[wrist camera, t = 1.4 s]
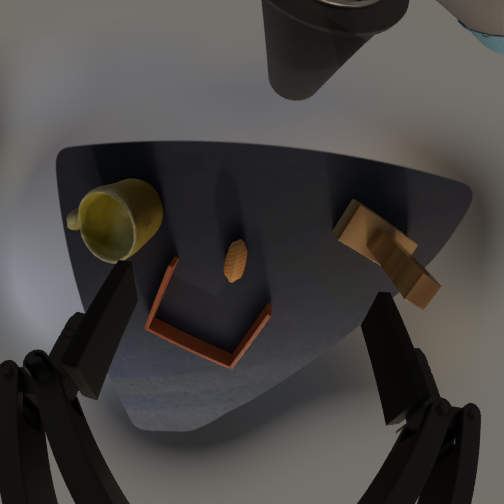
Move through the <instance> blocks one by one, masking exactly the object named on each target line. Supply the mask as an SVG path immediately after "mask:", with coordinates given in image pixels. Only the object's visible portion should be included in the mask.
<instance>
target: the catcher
mask: <svg viewBox="0 0 504 504" xmlns="http://www.w3.org/2000/svg"><path fill="white" fill-rule="evenodd" d="M178 259H179V258H178V257H174V259H173V260H172V261H171V263H170V264H169V265H168V268H167V270H166V273H165V275H164V278H163V280H162V283H161V285H160V288H159V290H158V293H157V295H156V298H155V301H154V303H153V306H152V309H151V311H150V314H149V317H148V319H147V322H146V325H145V328H144V329H146V330H148V331H150V332H152V333H153V334H155V335H157V336H159V337H161V338H163V339H165V340H167V341H169V342H171V343H173V344H175V345H177V346H179V347H181V348H184V349H186V350H188V351H190V352H192V353H194V354H196V355H199V356H201V357H203V358H205V359H208V360H210V361H212V362H214V363H217V364H219V365H221V366H224V367H226V368H229V369H231V370H232V368H233V367H234V366H235V365H236V363H237V362H238V361H239V359H240V358H241V357H242V355H243V354H244V353H245V351H246V350H247V349H248V347H249V346H250V344H251V343H252V342H253V340H254V339H255V338H256V336H257V335H258V334H259V332H260V331H261V329H262V328H263V327H264V325H265V324H266V322H267V321H268V320H269V318H270V317H271V304H270V303H267V305H266V306H265V308H264V309H263V311H262V312H261V313H260V315H259V316H258V318H257V319H256V321H255V322H254V324H253V325H252V327H251V328H250V329H249V331H248V332H247V334H246V335H245V337H244V338H243V339H242V341H241V342H240V344H239V345H238V346H237V348H236V349H235V351H234V352H233V354H231V353H228V352H226V351H224V350H222V349H219V348H217V347H215V346H213V345H210V344H208V343H206V342H204V341H202V340H200V339H198V338H195V337H193V336H191V335H189V334H187V333H185V332H183V331H181V330H179V329H177V328H175V327H173V326H171V325H169V324H167V323H165V322H163V321H161V320H159V319H157V318H155V315H156V313H157V310H158V308H159V305H160V303H161V300H162V298H163V295H164V293H165V290H166V288H167V285H168V283H169V281H170V278H171V276H172V274H173V271H174V269H175V266H176V264H177V262H178Z"/></svg>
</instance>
